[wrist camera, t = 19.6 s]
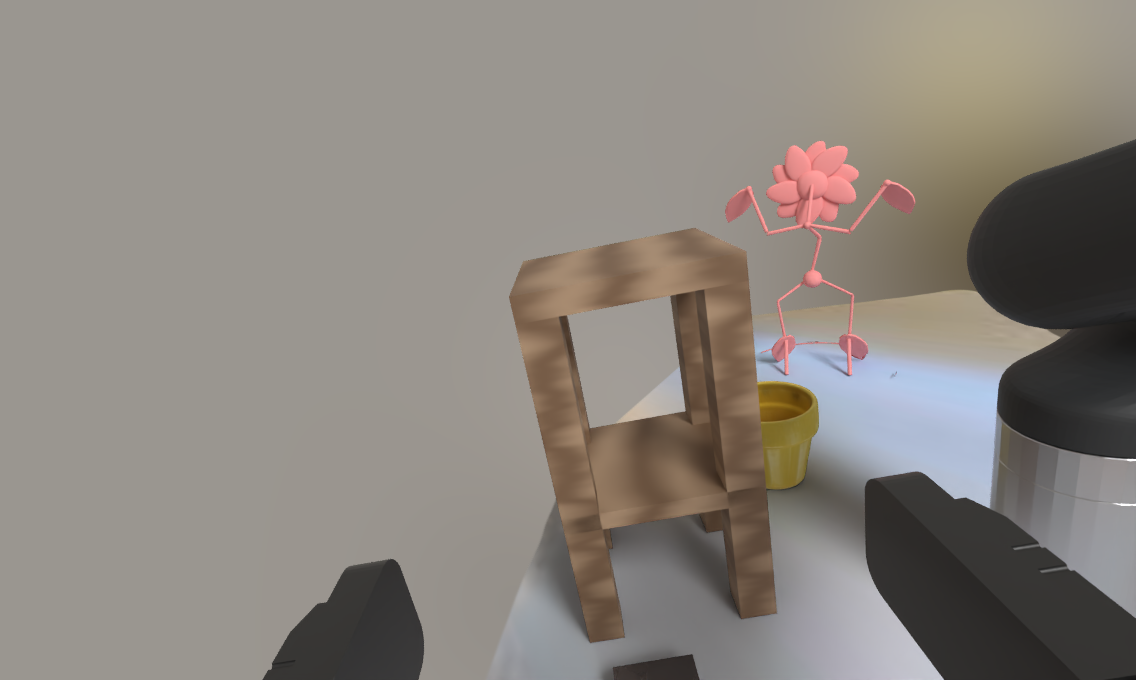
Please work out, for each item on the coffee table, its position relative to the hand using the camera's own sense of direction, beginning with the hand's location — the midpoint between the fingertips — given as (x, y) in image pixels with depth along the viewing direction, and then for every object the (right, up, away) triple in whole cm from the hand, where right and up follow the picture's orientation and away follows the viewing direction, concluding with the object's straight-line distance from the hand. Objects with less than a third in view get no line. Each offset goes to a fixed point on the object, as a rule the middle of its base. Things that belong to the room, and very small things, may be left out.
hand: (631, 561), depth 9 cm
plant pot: (+23, -12, +53) cm, 59 cm away
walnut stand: (+9, -18, +42) cm, 47 cm away
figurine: (+42, 0, +79) cm, 90 cm away
